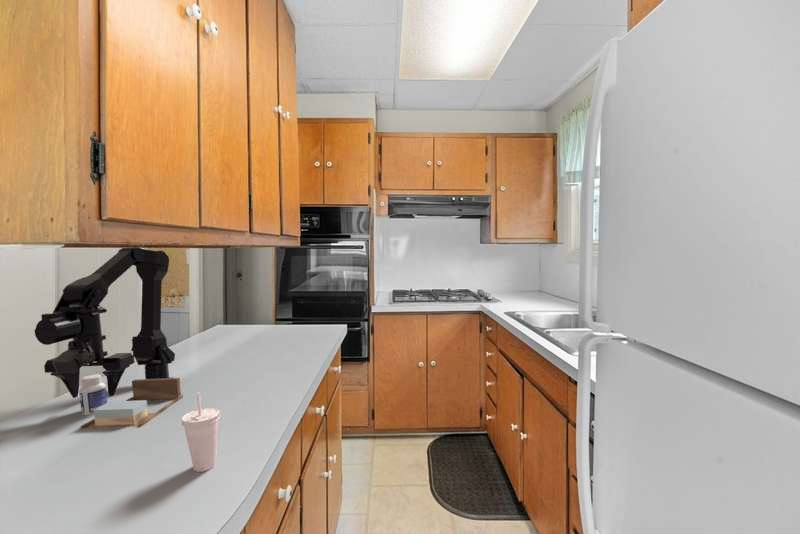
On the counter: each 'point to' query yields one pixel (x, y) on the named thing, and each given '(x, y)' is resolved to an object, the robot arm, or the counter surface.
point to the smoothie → (202, 436)
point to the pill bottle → (92, 394)
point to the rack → (149, 397)
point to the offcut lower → (121, 419)
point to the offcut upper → (120, 409)
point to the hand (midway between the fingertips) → (93, 396)
